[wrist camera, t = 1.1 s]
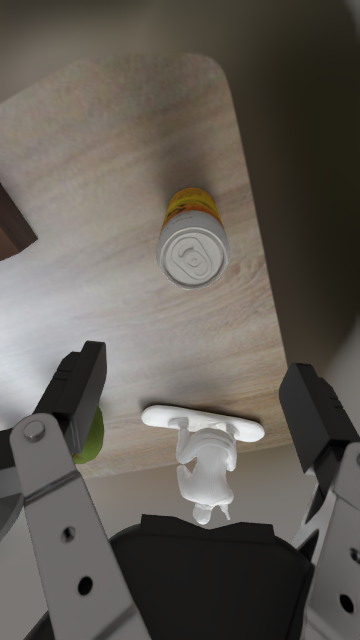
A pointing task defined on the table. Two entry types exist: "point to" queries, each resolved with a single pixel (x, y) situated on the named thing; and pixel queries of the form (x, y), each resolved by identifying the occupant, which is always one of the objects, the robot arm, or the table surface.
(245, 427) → the figurine
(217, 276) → the beer can
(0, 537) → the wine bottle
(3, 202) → the shelf
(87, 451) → the apple
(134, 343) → the table surface
